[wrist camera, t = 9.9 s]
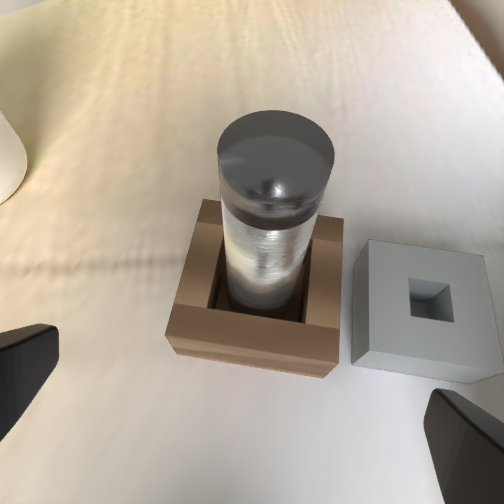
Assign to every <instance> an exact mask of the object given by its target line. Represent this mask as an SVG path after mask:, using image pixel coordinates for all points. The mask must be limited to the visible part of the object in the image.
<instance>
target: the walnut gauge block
mask: <svg viewBox="0 0 504 504" xmlns="http://www.w3.org/2000/svg"><path fill="white" fill-rule="evenodd" d="M343 220H344V219H342V218H335V217H327V216H320V215H317V218H316V221H315V225H314V228H313V231H312V234H311V237H310V240H309V244H308V247H307V250H306V253H305V256H304V260H303V263H302V266H301V269H300V272H299V276H298V279H297V282H296V285H295V288H294V291H293V295H292V298H291V301H290V304H289V307H288V310H287V312H286V313H285V315H284V316H283V317H282V318H281V319H280V320H279V319H273V318H266V317H260V316H254V315H247V314H241V313H235V312H233V310H232V308H231V306H230V302H229V291H228V278H227V266H226V253H225V241H224V228H223V216H222V203H221V201H214V200H207V199H203V201H202V205H201V208H200V212H199V215H198V219H197V222H196V226H195V230H194V233H193V237H192V240H191V244H190V247H189V251H188V254H187V258H186V261H185V265H184V268H183V272H182V276H181V279H180V283H179V286H178V290H177V293H176V297H175V300H174V304H173V307H172V311H171V315H170V318H169V322H168V325H167V329H166V332H165V336H166V338H167V339H168V341H169V343H170V344H171V346H172V347H173V349H174V350H175V352H176V354H179V355H185V356H191V357H197V358H203V359H209V360H215V361H221V362H227V363H233V364H239V365H245V366H251V367H257V368H263V369H269V370H275V371H281V372H287V373H294V374H300V375H306V376H312V377H318V378H324V377H325V376H326V375H327V374H328V373H329V372H330V371H331V370H332V369H333V368H334V367H335V366H336V365H337V364H338V363H339V334H340V306H341V277H342V249H343Z"/></svg>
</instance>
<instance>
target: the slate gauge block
mask: <svg viewBox="0 0 504 504" xmlns="http://www.w3.org/2000/svg"><path fill="white" fill-rule="evenodd" d="M352 365H355V366H361V367H367V368H373V369H379V370H385V371H391V372H398V373H404V374H410V375H416V376H422V377H428V378H434V379H441V380H447V381H453V382H459V383H465V384H470V383H473V382H476V381H479V380H483V379H486V378H489V377H492V376H495V375H498V374H501V373H504V362H503V357H502V352H501V346H500V341H499V336H498V330H497V325H496V320H495V315H494V309H493V304H492V299H491V294H490V288H489V283H488V278H487V272H486V267H485V262H484V257H483V256H482V255H475V254H468V253H461V252H454V251H447V250H440V249H433V248H426V247H419V246H412V245H405V244H398V243H391V242H384V241H377V240H370V239H369V240H368V241H367V243H366V245H365V247H364V248H363V250H362V252H361V253H360V255H359V257H358V258H357V260H356V262H355V264H354V268H353V327H352Z"/></svg>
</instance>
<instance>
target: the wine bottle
mask: <svg viewBox="0 0 504 504" xmlns="http://www.w3.org/2000/svg"><path fill="white" fill-rule="evenodd" d="M26 170H27V155H26V150H25V148H24V145H23V143H22V141H21V140H20V138H19V137H18V135H17V134H16V132H15V131H14V130H13V128H12V127H11V125H10V124H9V122H8V121H7V120H6V118H5V117H4V115H3V114H2V112H1V111H0V204H1V203H3V202H4V201H5V200H7V199H8V198H9V197H10V196H11V195H12V194H13V193H14V192H15V190H16V189H17V188H18V187H19V185H20V184H21V182H22V180H23V178H24V176H25V173H26Z"/></svg>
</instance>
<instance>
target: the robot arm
mask: <svg viewBox="0 0 504 504" xmlns="http://www.w3.org/2000/svg"><path fill="white" fill-rule="evenodd" d="M58 360H59V332H58V329H57V327H56V326H53V325H47V324H35V325H30V326H26V327H22V328H18V329H14V330H10V331H6V332H2V333H0V442H1V441H2V439H3V438H4V437H5V436H6V435H7V433H8V432H9V431H10V430H11V429H12V427H13V426H14V425H15V424H16V422H17V421H18V420H19V418H20V417H21V416H22V414H23V413H24V412H25V410H26V409H27V407H28V406H29V404H30V403H31V402H32V400H33V399H34V397H35V396H36V394H37V393H38V391H39V390H40V389H41V387H42V386H43V384H44V383H45V381H46V380H47V378H48V377H49V376H50V374H51V373H52V371H53V370H54V368H55V367H56V365H57V363H58ZM424 431H425V434H426V438H427V442H428V446H429V449H430V453H431V457H432V460H433V464H434V468H435V471H436V475H437V479H438V483H439V486H440V489H441V493H442V496H443V499H444V502H445V504H504V423H503V422H501V421H500V420H498V419H496V418H495V417H493V416H492V415H490V414H489V413H487V412H486V411H484V410H483V409H481V408H480V407H478V406H476V405H475V404H473V403H472V402H470V401H469V400H467V399H466V398H464V397H463V396H461V395H459V394H458V393H456V392H455V391H452V390H446V389H440V388H436V389H434V390H433V391H432V393H431V396H430V399H429V403H428V406H427V409H426V413H425V416H424Z"/></svg>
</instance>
